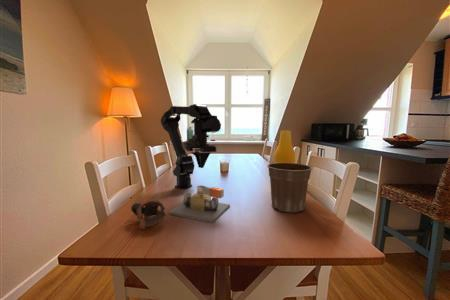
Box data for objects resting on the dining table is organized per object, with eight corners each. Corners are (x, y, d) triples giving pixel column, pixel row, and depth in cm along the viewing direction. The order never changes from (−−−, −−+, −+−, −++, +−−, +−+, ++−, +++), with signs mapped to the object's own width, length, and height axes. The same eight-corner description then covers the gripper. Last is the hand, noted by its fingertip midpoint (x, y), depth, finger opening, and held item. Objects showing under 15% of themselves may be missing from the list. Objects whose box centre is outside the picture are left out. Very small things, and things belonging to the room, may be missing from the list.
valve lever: (195, 193, 76) (195, 186, 75) (199, 191, 78) (199, 184, 78) (220, 198, 71) (220, 190, 70) (224, 196, 73) (224, 188, 73)
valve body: (183, 207, 77) (182, 192, 76) (190, 203, 82) (190, 189, 81) (212, 213, 72) (212, 197, 72) (218, 208, 77) (218, 193, 76)
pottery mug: (171, 217, 72) (171, 201, 67) (156, 242, 64) (156, 226, 59) (139, 206, 73) (137, 190, 68) (121, 229, 66) (118, 213, 61)
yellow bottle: (271, 194, 95) (273, 130, 91) (274, 189, 103) (276, 130, 100) (292, 197, 91) (295, 131, 88) (294, 191, 100) (297, 130, 96)
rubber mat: (169, 214, 73) (169, 211, 73) (191, 200, 87) (191, 198, 87) (212, 222, 67) (212, 220, 67) (229, 206, 81) (229, 204, 81)
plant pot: (263, 199, 89) (264, 161, 87) (301, 199, 89) (303, 162, 87) (270, 215, 73) (271, 170, 71) (317, 216, 73) (319, 170, 71)
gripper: (176, 133, 97) (176, 167, 98) (192, 131, 81) (192, 171, 82) (197, 134, 103) (198, 165, 104) (216, 132, 87) (217, 169, 88)
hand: (200, 167), depth 94 cm, fingers closed
